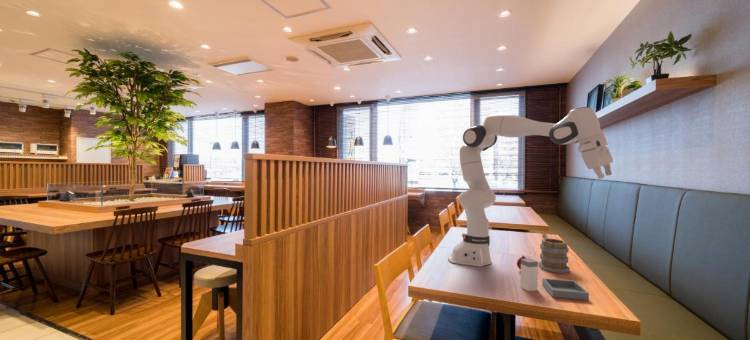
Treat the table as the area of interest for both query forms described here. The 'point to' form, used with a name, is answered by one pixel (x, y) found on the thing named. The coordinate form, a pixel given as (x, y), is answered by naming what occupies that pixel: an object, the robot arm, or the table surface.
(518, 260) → the onion
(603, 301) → the table surface
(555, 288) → the walled box
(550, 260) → the tankard
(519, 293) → the table surface
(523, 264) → the plug
